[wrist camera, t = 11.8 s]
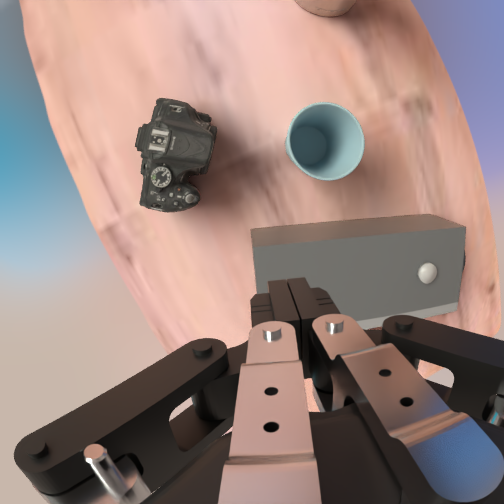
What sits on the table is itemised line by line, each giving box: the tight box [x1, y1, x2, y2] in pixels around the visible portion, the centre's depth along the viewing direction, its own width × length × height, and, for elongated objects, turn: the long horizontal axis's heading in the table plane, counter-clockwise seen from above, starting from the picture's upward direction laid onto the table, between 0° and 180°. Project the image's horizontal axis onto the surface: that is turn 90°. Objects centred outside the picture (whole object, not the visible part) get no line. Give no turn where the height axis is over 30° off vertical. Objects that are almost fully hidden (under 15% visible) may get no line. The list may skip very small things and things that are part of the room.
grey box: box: [251, 214, 466, 329], centre depth 38 cm, size 11×27×10 cm, turn 95°
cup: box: [285, 102, 365, 181], centre depth 34 cm, size 8×8×10 cm
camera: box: [135, 98, 217, 212], centre depth 34 cm, size 13×10×10 cm
